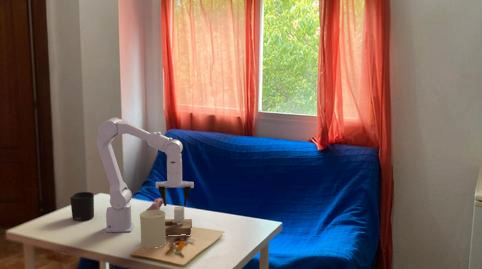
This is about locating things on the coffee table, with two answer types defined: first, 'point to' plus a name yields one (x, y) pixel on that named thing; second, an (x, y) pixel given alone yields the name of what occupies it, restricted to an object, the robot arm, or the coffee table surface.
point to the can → (152, 228)
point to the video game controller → (156, 204)
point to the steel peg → (179, 215)
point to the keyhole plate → (178, 227)
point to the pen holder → (82, 206)
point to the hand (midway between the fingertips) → (175, 205)
